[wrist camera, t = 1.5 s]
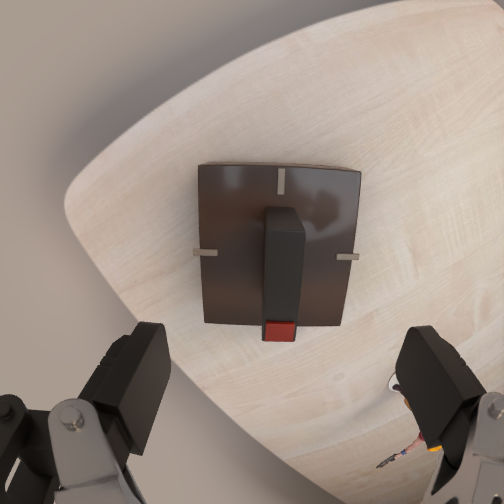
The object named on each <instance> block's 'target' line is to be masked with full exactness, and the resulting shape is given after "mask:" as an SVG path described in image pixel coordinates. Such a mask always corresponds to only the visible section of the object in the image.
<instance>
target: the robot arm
mask: <svg viewBox="0 0 504 504" xmlns="http://www.w3.org/2000/svg"><path fill="white" fill-rule="evenodd" d="M395 372H396V378H397V380H398V382H399V384H400V387H401V389H402V391H403V393H404V395H405V397H406V399H407V401H408V404H409V406H410V408H411V410H412V412H413V415H414V417H415V419H416V421H417V424H418V426H419V428H420V431H421V433H422V435H423V438H424V440H425V442H426V445H427V447H428V449H431V448H434V447H438V446H442V448H443V450H442V451H441V453H440V454H439V457H438V460H437V463H436V466H435V469H434V472H433V474H432V477H431V480H430V483H429V485H428V488H427V490H426V493H425V495H424V498H423V500H422V501H421V503H420V504H504V395H503V394H500V393H497V392H488V393H487V392H486V390H485V389H484V388H483V386H482V385H481V383H480V382H479V380H478V379H477V378H476V376H475V375H474V373H473V372H472V371H471V369H470V368H469V367H468V365H467V366H466V362H465V361H464V360H463V358H460V354H459V353H458V352H457V351H456V349H455V348H454V347H453V346H452V345H451V344H450V343H448V342H447V341H445V340H444V339H443V338H441V337H440V336H439V334H438V333H437V332H436V331H435V329H434V328H433V327H432V326H430V325H429V326H417V327H411V328H409V330H408V331H407V334H406V337H405V340H404V343H403V345H402V348H401V351H400V354H399V356H398V359H397V362H396V367H395ZM170 373H171V359H170V354H169V348H168V343H167V337H166V331H165V327H164V325H163V324H161V323H151V322H142V321H141V322H139V323H138V325H137V326H136V327H135V329H134V331H133V332H132V334H131V335H123V336H122V337H121V338H119V339H118V340H116V341H115V342H114V343H112V345H111V346H110V348H109V350H108V351H107V353H106V356H104V357H103V359H102V360H101V362H100V365H98V366H97V368H96V369H95V371H94V373H93V374H92V376H91V377H90V379H89V381H88V382H87V384H86V385H85V387H84V388H83V390H82V392H81V393H80V395H79V396H78V398H77V399H76V398H75V399H67V400H64V401H62V402H60V403H58V404H57V405H56V406H55V407H54V408H53V409H52V410H51V411H42V410H41V411H40V410H29V409H27V408H26V406H25V405H24V403H23V401H22V400H21V399H20V398H19V397H17V396H15V395H10V394H8V395H7V394H6V395H2V396H0V504H53V503H54V500H55V502H56V504H147V503H146V501H145V499H144V497H143V495H142V494H141V492H140V490H139V488H138V486H137V484H136V482H135V480H134V478H133V476H132V473H131V471H130V469H129V467H128V465H127V463H126V462H127V459H128V457H129V454H130V453H132V454H137V455H141V456H142V455H143V452H144V449H145V446H146V443H147V440H148V437H149V434H150V431H151V428H152V426H153V423H154V420H155V417H156V414H157V411H158V408H159V405H160V403H161V400H162V397H163V394H164V391H165V389H166V386H167V383H168V380H169V377H170ZM17 457H18V458H19V459H20V460H21V461H20V463H19V465H18V468H17V470H16V472H15V474H14V476H13V478H12V481H11V483H10V485H9V487H8V490H7V492H6V491H5V483H6V480H7V478H8V476H9V473H10V472H11V469H12V467H13V465H14V463H15V461H16V459H17ZM60 485H61V487H60V489H59V486H60Z"/></svg>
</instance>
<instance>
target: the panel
mask: <svg viewBox="0 0 504 504" xmlns="http://www.w3.org/2000/svg"><path fill="white" fill-rule="evenodd" d="M360 185H361V172H360V171H357V170H353V169H350V168H345V167H334V166H322V165H308V164H290V163H266V162H207V163H203V164H200V165H198V203H199V237H200V249H193V254H194V255H200V261H201V280H202V297H203V312H204V322H205V323H213V324H232V325H256V326H262V287H263V261H264V233H265V208H266V207H287V208H295V210H296V212H297V214H298V216H299V218H300V220H301V222H302V224H303V226H304V228H305V230H306V241H305V253H304V264H303V274H302V285H301V294H300V303H299V312H298V321H297V326H340V324H341V319H342V314H343V309H344V304H345V298H346V293H347V287H348V281H349V275H350V269H351V262H352V260H359V254H353V248H354V241H355V233H356V225H357V216H358V206H359V196H360Z"/></svg>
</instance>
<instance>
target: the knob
mask: <svg viewBox="0 0 504 504" xmlns="http://www.w3.org/2000/svg"><path fill="white" fill-rule="evenodd" d="M305 241H306V230H305V228H304V226H303V224H302V222H301V220H300V218H299V216H298V214H297V212H296V210H295V208H287V207H266V208H265V233H264V261H263V287H262V341H276V342H294V341H295V337H296V329H297V321H298V312H299V303H300V294H301V285H302V274H303V264H304V253H305Z"/></svg>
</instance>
